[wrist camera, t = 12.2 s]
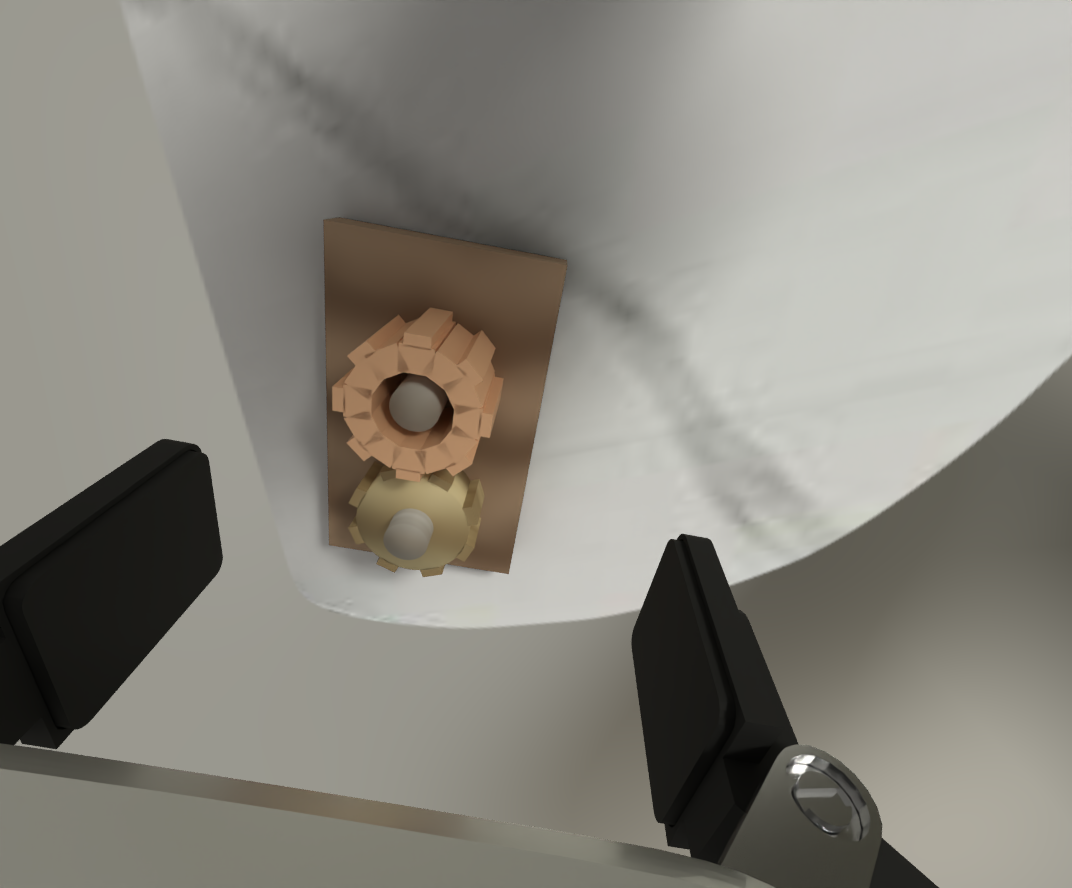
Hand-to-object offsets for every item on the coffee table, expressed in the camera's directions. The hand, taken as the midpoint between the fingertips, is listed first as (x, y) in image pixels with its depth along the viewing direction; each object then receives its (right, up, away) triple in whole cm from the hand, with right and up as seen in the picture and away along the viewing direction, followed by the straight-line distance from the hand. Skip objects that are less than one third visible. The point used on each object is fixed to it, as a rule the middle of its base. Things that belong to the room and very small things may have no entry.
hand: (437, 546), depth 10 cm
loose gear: (-3, +6, +18) cm, 19 cm away
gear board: (-4, +4, +21) cm, 22 cm away
